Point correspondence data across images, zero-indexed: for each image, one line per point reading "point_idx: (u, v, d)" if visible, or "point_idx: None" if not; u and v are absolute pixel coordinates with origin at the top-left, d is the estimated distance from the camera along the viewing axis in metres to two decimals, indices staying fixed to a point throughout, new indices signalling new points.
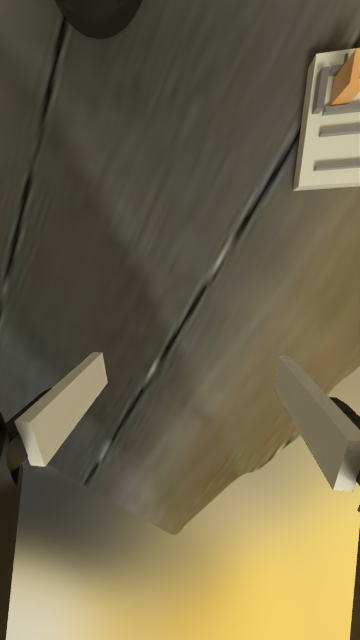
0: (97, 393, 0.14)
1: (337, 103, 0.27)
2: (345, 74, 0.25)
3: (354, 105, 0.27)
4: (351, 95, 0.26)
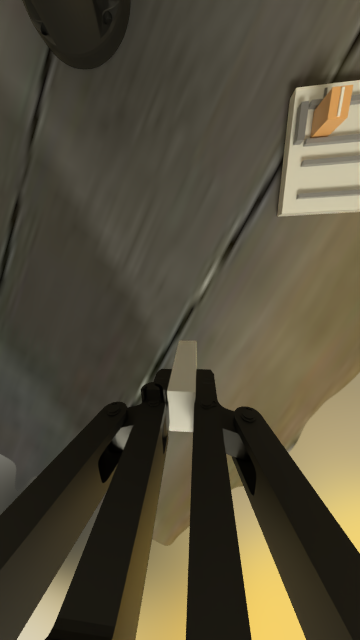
0: None
1: (317, 135, 0.28)
2: (324, 110, 0.25)
3: (334, 137, 0.27)
4: (330, 129, 0.26)
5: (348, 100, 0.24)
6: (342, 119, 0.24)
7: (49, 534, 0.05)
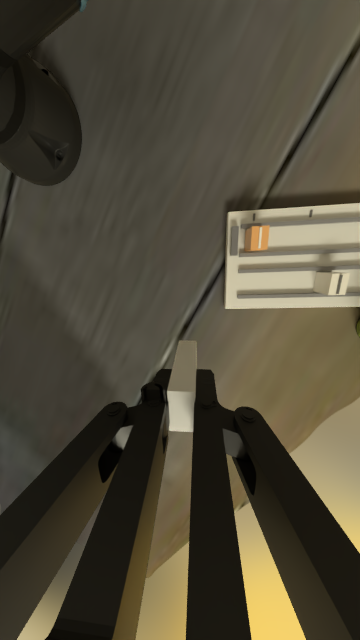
0: None
1: None
2: (249, 238, 0.28)
3: (264, 253, 0.31)
4: (258, 250, 0.30)
5: (267, 236, 0.27)
6: (263, 249, 0.28)
7: (49, 534, 0.05)
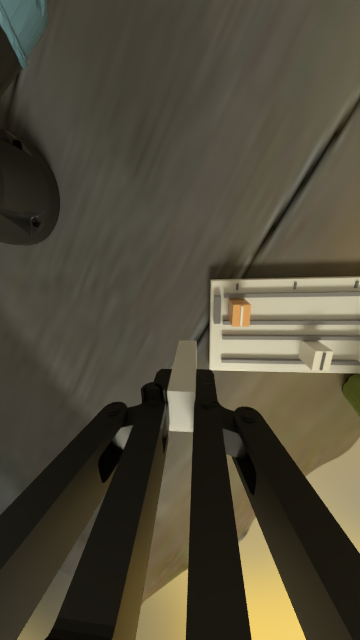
0: None
1: None
2: (231, 312, 0.28)
3: None
4: None
5: (248, 315, 0.26)
6: None
7: (49, 534, 0.05)
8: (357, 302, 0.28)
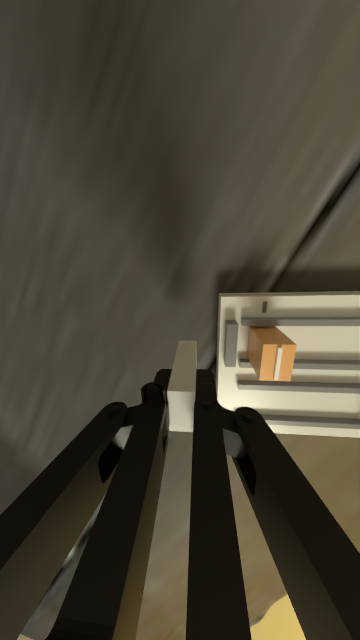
0: None
1: None
2: (256, 354, 0.16)
3: None
4: None
5: (290, 362, 0.14)
6: None
7: (49, 534, 0.05)
8: None
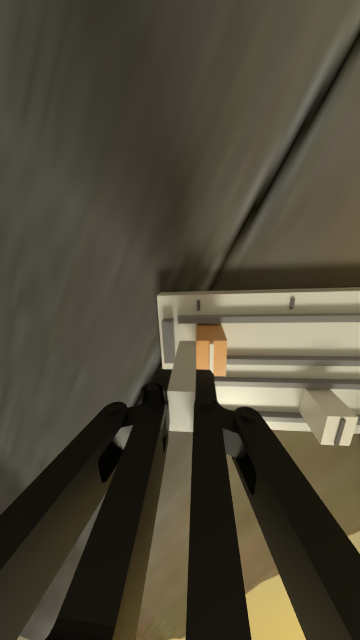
0: None
1: None
2: None
3: None
4: None
5: (223, 357, 0.15)
6: None
7: (49, 534, 0.05)
8: None
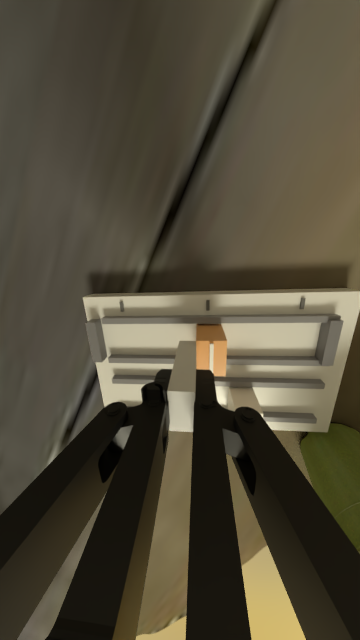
0: None
1: None
2: None
3: (143, 360, 0.20)
4: None
5: (223, 357, 0.15)
6: None
7: (49, 534, 0.05)
8: (306, 331, 0.18)
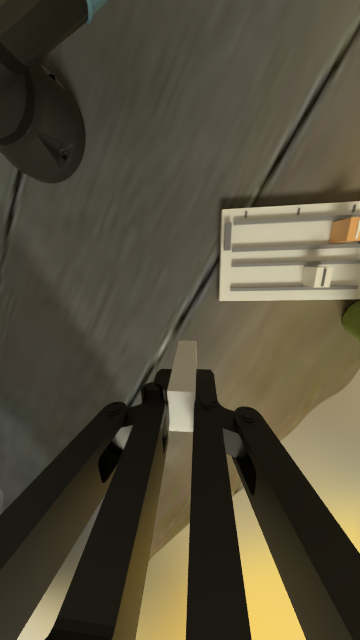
0: None
1: (336, 242, 0.32)
2: (343, 229, 0.29)
3: (255, 248, 0.33)
4: (348, 241, 0.30)
5: None
6: (359, 240, 0.28)
7: (49, 534, 0.05)
8: None
